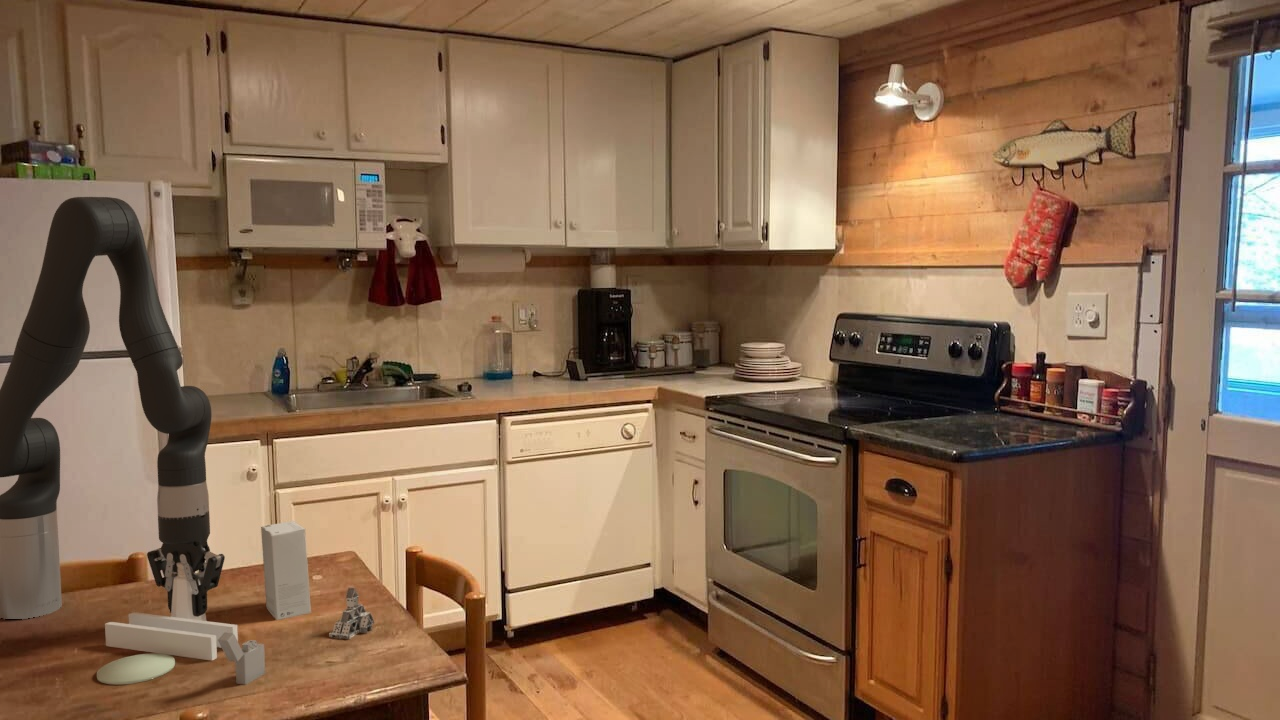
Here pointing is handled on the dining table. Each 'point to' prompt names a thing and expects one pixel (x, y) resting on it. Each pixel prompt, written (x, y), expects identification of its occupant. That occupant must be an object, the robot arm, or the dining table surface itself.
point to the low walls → (168, 635)
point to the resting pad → (135, 669)
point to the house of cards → (352, 618)
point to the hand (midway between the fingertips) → (188, 613)
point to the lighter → (244, 657)
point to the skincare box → (285, 570)
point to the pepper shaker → (183, 597)
